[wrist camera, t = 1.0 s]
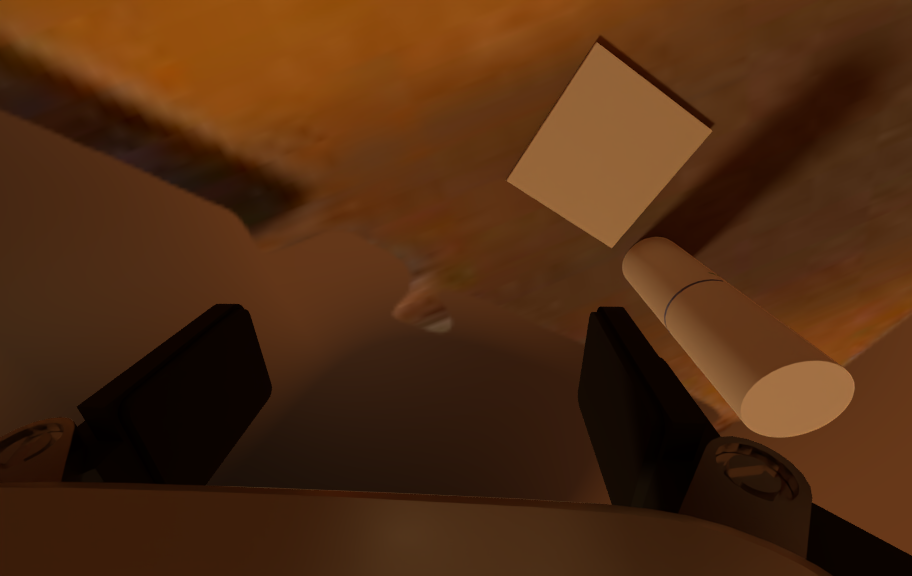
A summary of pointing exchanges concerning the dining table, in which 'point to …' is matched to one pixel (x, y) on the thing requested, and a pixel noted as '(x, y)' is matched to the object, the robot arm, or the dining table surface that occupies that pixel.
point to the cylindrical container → (739, 343)
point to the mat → (607, 147)
